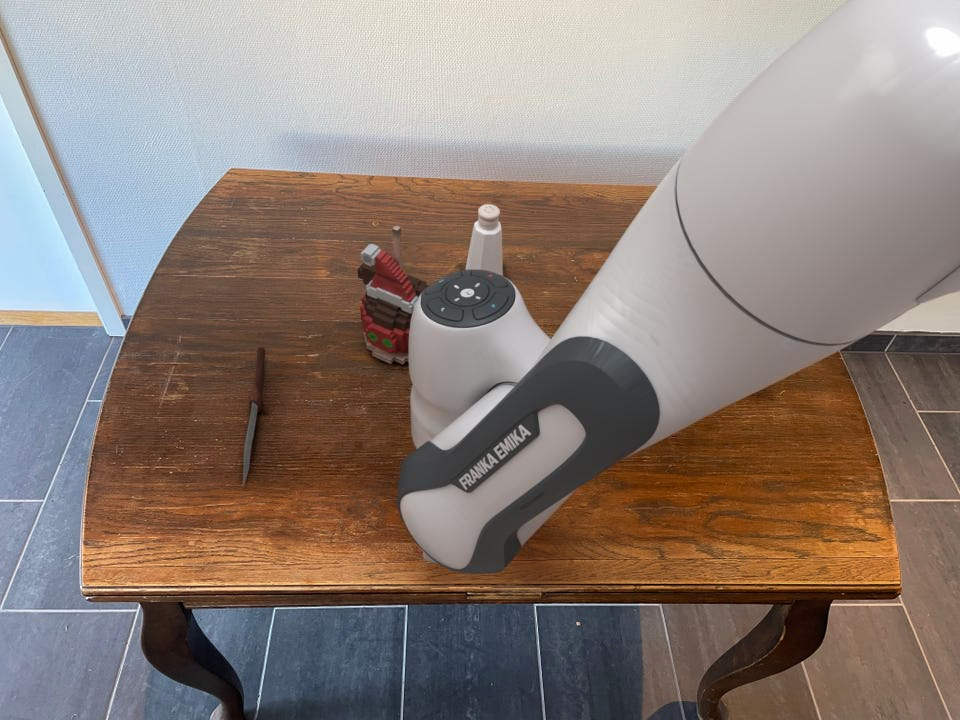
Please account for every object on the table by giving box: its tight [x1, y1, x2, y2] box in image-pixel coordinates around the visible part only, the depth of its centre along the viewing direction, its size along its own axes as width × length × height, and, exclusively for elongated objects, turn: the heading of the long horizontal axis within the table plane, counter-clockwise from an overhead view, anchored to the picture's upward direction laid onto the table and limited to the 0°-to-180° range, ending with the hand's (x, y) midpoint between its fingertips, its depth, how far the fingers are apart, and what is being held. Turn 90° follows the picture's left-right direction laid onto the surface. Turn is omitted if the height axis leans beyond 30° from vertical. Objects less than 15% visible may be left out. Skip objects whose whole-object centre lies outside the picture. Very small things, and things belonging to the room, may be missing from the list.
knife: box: [242, 346, 266, 488], centre depth 78 cm, size 18×2×3 cm, turn 5°
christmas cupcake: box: [356, 225, 430, 365], centre depth 81 cm, size 11×9×18 cm
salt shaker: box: [465, 203, 504, 276], centre depth 93 cm, size 5×5×11 cm
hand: (455, 495), depth 72 cm, fingers open, 5 cm apart
